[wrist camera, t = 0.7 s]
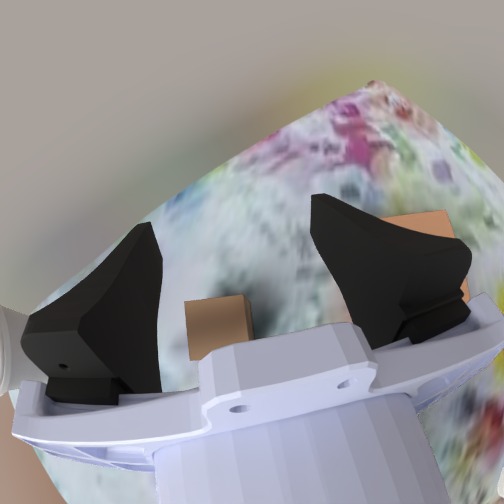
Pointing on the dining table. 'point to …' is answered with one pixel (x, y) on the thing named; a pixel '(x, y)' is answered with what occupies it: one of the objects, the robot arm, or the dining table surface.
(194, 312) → the walnut block
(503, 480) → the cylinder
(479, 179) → the dining table surface
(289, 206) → the dining table surface
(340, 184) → the dining table surface
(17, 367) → the coffee cup
